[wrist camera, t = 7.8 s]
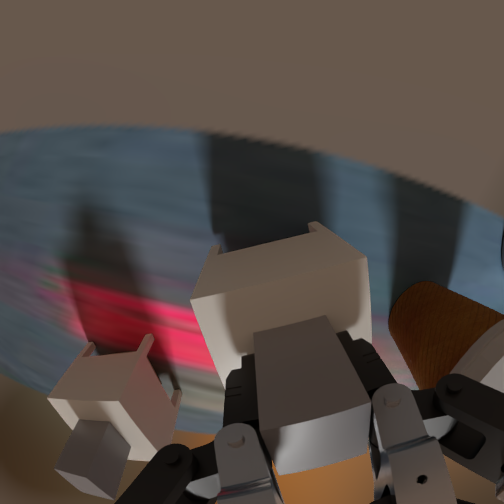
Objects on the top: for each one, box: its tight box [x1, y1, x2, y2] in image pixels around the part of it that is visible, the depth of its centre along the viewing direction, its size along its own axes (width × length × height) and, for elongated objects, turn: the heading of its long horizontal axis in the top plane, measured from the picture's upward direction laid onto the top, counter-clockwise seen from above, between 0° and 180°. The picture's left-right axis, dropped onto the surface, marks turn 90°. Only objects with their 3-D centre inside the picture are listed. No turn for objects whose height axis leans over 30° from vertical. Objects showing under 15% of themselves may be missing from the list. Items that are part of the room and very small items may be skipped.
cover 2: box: [190, 221, 372, 475], centre depth 13 cm, size 7×7×13 cm
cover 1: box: [47, 333, 182, 500], centre depth 16 cm, size 7×7×13 cm
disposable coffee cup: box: [389, 281, 504, 393], centre depth 16 cm, size 10×10×12 cm
